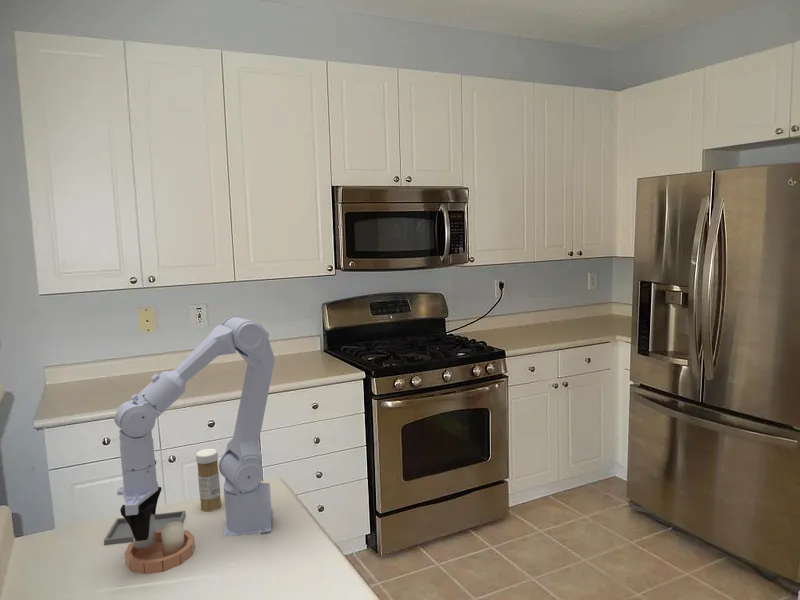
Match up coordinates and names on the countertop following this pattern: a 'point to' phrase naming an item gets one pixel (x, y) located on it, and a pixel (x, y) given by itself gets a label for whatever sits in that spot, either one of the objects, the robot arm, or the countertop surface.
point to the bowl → (157, 555)
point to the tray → (124, 533)
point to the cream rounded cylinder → (172, 538)
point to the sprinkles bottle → (208, 480)
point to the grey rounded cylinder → (151, 537)
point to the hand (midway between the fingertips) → (144, 533)
